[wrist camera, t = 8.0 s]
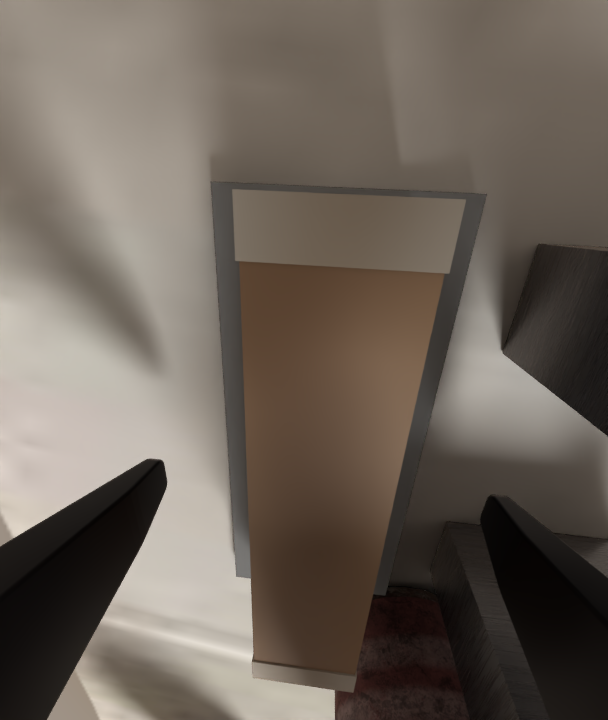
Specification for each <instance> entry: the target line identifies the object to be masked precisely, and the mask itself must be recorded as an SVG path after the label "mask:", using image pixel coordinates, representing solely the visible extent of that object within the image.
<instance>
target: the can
mask: <svg viewBox="0 0 608 720" xmlns="http://www.w3.org/2000/svg"><path fill="white" fill-rule="evenodd" d="M356 671H357V679H356V683H355V687H354V692H353V693H352V692H345V691H338V690H335V720H470V718H469V714H468V710H467V707H466V703H465V699H464V696H463V692H462V688H461V685H460V681H459V677H458V673H457V670H456V666H455V662H454V659H453V655H452V651H451V647H450V644H449V640H448V636H447V633H446V629H445V625H444V621H443V618H442V614H441V610H440V607H439V603H438V599H437V596H436V595H435V594H433V593H430V592H428V591H425V590H421V589H414V588H408V587H389V588H387V591H386V595H385V596H383V595H375V594H373V597H372V601H371V606H370V610H369V615H368V619H367V624H366V628H365V633H364V637H363V642H362V646H361V651H360V655H359V660H358V664H357V669H356Z"/></svg>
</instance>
